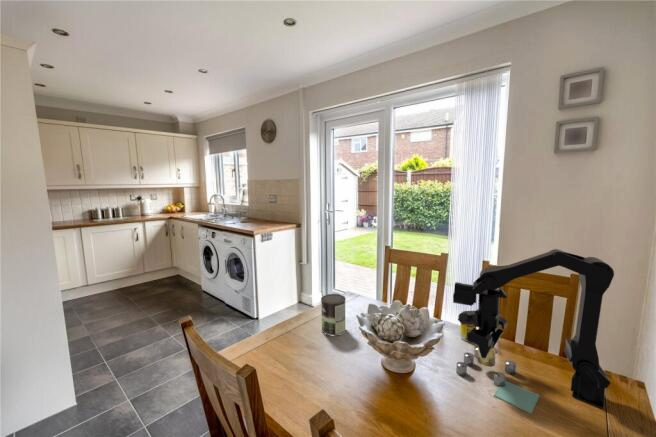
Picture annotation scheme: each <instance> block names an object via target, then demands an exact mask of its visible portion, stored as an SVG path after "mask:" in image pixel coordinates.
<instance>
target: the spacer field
mask: <svg viewBox="0 0 656 437" xmlns="http://www.w3.org/2000/svg"><path fill="white" fill-rule="evenodd" d="M473 348H474V351H473V353H471V352H464V353H463V361H457V362H456V368H455V369H456V375H458V376H460V377H467V372H468V371H467V370H468V367H473V366H474V364H475V362H474V361H475V360H474V359H475V358H476V359H477V360H478V345H475V346H474V347H473ZM467 366H468V367H467ZM504 371H505V373H506V374H508V375H512V376H513V375H514V376H515V375H516V374H517V362H515V361H513V360H509V359H506V360H505V361H504ZM505 381H506V375H505V374H504V373H502V372H499V371H494V372H493V385H494V386H496V387H497V388H499V386H502V387H503V386H505Z"/></svg>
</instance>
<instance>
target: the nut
mask: <svg viewBox="0 0 656 437" xmlns="http://www.w3.org/2000/svg"><path fill="white" fill-rule="evenodd" d="M496 351H497V348H496V347H495V346H492V347H491V349H490V351H489V353H488V355H487V356H486V358H482V357H481V354H480V350H479V347H478V359H477V362H478V363H479V364H480V365H482V366H484V367H491V368H492V367H495V366H496Z"/></svg>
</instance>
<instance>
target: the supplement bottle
mask: <svg viewBox="0 0 656 437" xmlns="http://www.w3.org/2000/svg"><path fill="white" fill-rule="evenodd" d="M459 327H460V329H459V330H460V332H459V336H460V338H461V340H463V341H464V342H469V343H471V342H470V341H467V339H466V337H467V333H468V332H469V331H470V330H472V329H474V328H475V329H477V327H475V326H474V324H465V325H463V324H461V323H460V326H459Z"/></svg>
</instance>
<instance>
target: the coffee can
mask: <svg viewBox="0 0 656 437" xmlns="http://www.w3.org/2000/svg"><path fill="white" fill-rule="evenodd" d="M320 302H321V332H322V331H323V332H324V333H326V334H328V335H340V334H342V335H344V334H345V333H344V332H346V331H345V329H346V297H345V296H344V295H342V294H339V293H330V294H329V293H328V294H325V295H323V296H321V298H320ZM323 332H322V333H323ZM324 333H323V334H324ZM343 333H344V334H343ZM328 335H327V336H328ZM340 336H341V335H340Z"/></svg>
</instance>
